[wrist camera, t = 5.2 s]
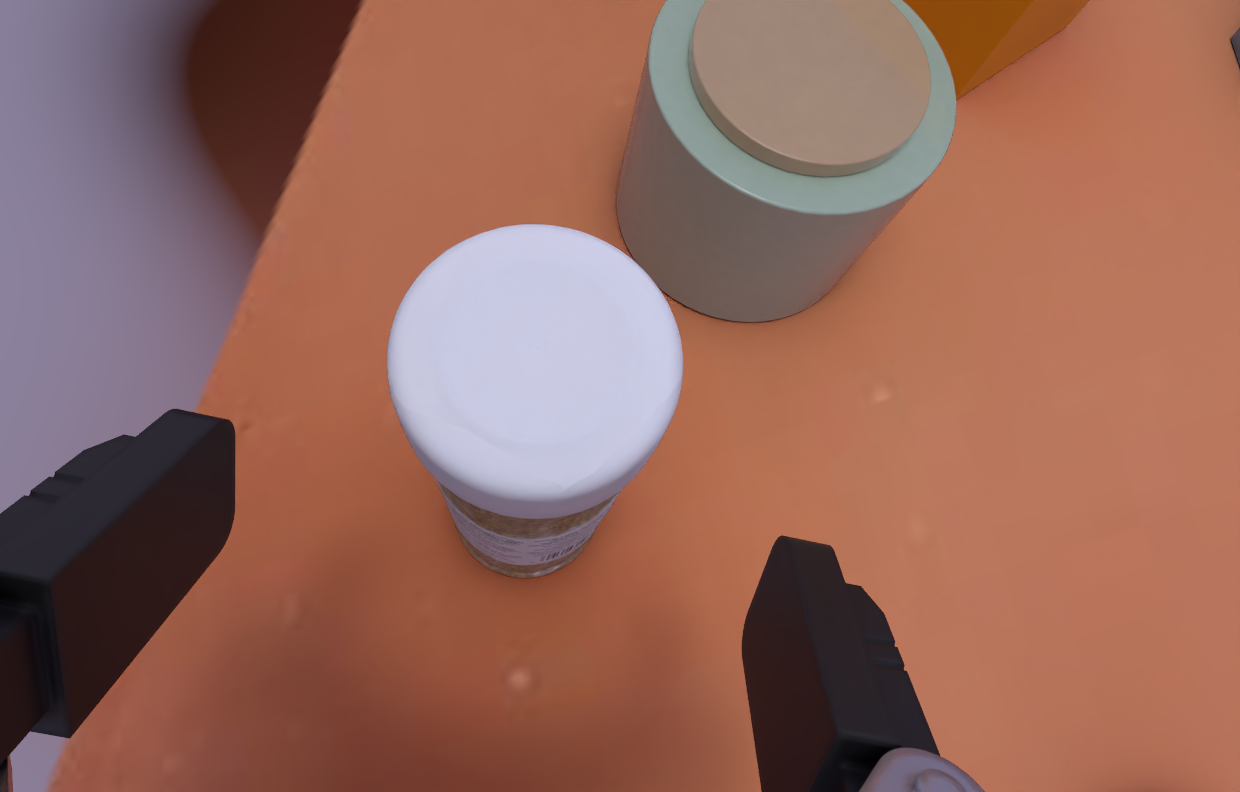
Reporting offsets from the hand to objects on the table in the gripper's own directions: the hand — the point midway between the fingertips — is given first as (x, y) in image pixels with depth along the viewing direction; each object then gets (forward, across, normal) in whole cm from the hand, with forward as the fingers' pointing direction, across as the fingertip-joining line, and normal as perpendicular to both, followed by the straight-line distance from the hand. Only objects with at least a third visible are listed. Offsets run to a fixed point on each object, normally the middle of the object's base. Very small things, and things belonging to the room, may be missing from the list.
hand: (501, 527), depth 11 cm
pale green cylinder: (+20, -5, -2) cm, 20 cm away
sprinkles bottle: (+11, 0, +7) cm, 13 cm away
